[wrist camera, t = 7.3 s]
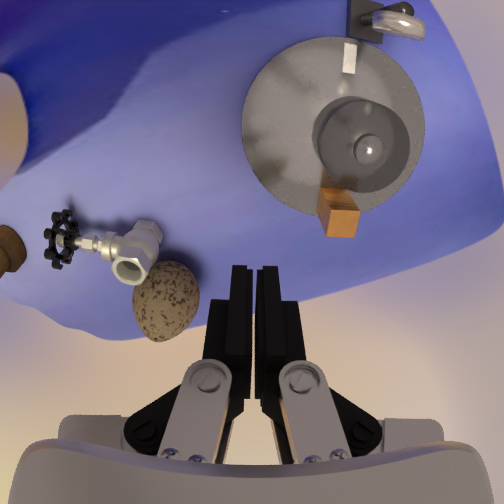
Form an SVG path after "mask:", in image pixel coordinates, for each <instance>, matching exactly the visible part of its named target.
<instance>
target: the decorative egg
mask: <svg viewBox="0 0 504 504" xmlns="http://www.w3.org/2000/svg"><path fill="white" fill-rule="evenodd" d="M199 299H200V293H199V287H198V283H197V280H196V278H195V276H194V275H193V273H192V272H191V271H190V270H189V269H188V268H187V267H186V266H184V265H183V264H181V263H178V262H175V261H160V262H157V263H155V264H154V265H153V266H152V267H151V268H150V271H149V273H148V275H147V276H146V278H145V279H144V281H143V282H142V283H141V285H135V287H134V291H133V298H132V304H133V311H134V315H135V318H136V321H137V323H138V325H139V327H140V329H141V330H142V332H143V333H144V334H145V335H146V336H147V337H148V338H149V339H150V340H152V341H154V342H163V341H166V340H169V339H171V338H173V337H175V336H177V335H178V334H180V333H181V332H182V331H184V330H185V329H186V328H187V326H188V325H189V324H190V323H191V321H192V320H193V318H194V316H195V314H196V312H197V309H198V306H199Z"/></svg>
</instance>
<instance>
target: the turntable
mask: <svg viewBox="0 0 504 504" xmlns="http://www.w3.org/2000/svg"><path fill="white" fill-rule="evenodd" d="M345 96H359V97H363V98H366V99H369V100H371V101H374V102H376V103H379V104H382V105H384V106H386V107H388V108H390V109H391V110H393V111H394V112H395V113H396V114H397V115H398V116H399V117H400V118H401V119H402V121H403V122H404V124H405V126H406V128H407V131H408V134H409V139H410V153H409V158H408V161H407V164H406V166H405V168H404V170H403V171H402V173H401V174H400V176H399V177H398V178H397V179H396V180H395V181H394V182H393V183H391V184H390V185H389V186H387V187H385V188H384V189H381V190H379V191H375V192H371V193H357V192H353V191H350V190H347V189H345V188H343V187H341V186H340V185H339V184H337V183H336V182H335V181H334V180H333V179H332V178H331V176H330V175H329V174H328V172H327V171H326V169H325V167H324V166H323V164H322V163H321V161H320V160H319V158H318V157H317V155H316V153H315V151H314V147H313V143H312V130H313V125H314V122H315V120H316V118H317V116H318V114H319V113H320V112H321V110H322V109H323V108H324V107H325V106H326V105H327V104H329V103H330V102H332V101H334V100H335V99H338V98H341V97H345ZM241 128H242V141H243V146H244V151H245V153H246V156H247V159H248V162H249V164H250V166H251V168H252V170H253V172H254V174H255V175H256V177H257V178H258V180H259V181H260V182H261V184H262V185H263V186H264V187H265V188H266V189H267V190H268V191H269V192H270V193H271V194H272V195H273V196H274V197H276V198H277V199H278V200H280V201H281V202H283V203H284V204H286V205H287V206H289V207H291V208H293V209H295V210H298V211H301V212H303V213H306V214H310V215H315V216H318V217H319V219H320V222H321V224H322V227H323V229H324V232H325V235H326V237H353V238H354V237H355V233H356V229H357V225H358V221H359V217H360V213H363V212H365V211H368V210H371V209H373V208H374V207H376V206H378V205H380V204H382V203H383V202H385V201H386V200H388V199H389V198H390V197H392V196H393V195H394V194H395V193H396V192H397V191H398V190H399V189H400V188H401V187H402V186H403V185H404V184H405V182H406V181H407V180H408V178H409V177H410V176H411V174H412V172H413V170H414V169H415V167H416V165H417V162H418V160H419V157H420V155H421V151H422V147H423V142H424V135H425V121H424V112H423V108H422V104H421V100H420V98H419V95H418V92H417V90H416V88H415V86H414V84H413V82H412V81H411V79H410V78H409V76H408V75H407V74H406V72H405V71H404V70H403V69H402V67H401V66H400V65H399V64H398V63H397V62H396V61H395V60H393V59H392V58H391V57H390V56H388V55H387V54H386V53H384V52H383V51H381V50H379V49H378V48H376V47H374V46H372V45H370V44H367V43H365V42H362V41H359V40H355V39H351V38H344V37H320V38H314V39H310V40H306V41H303V42H300V43H297V44H295V45H293V46H291V47H289V48H287V49H285V50H283V51H282V52H280V53H279V54H277V55H276V56H274V57H273V58H272V59H271V60H270V61H269V62H268V63H267V64H266V65H265V66H264V67H263V68H262V69H261V71H260V72H259V73H258V74H257V76H256V77H255V79H254V81H253V82H252V84H251V86H250V88H249V91H248V93H247V96H246V99H245V103H244V107H243V112H242V123H241Z"/></svg>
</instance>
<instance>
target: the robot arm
mask: <svg viewBox="0 0 504 504" xmlns="http://www.w3.org/2000/svg"><path fill="white" fill-rule="evenodd" d="M252 309H253V269H247V265H233V266H232V276H231V287H230V298H229V300H220V299H211V302H210V309H209V315H208V322H207V329H206V336H205V343H204V350H203V357H202V360H199V361H197V362H195V363H193V364H192V365H191V366H190V367H188V369H187V371H186V373H185V375H184V378H183V381H182V383H181V384H180V385H178V386H177V387H175V388H174V389H172V390H171V391H169V392H168V393H166V394H165V395H163V396H161V397H160V398H158V399H157V400H155V401H154V402H152V403H150V404H149V405H147V406H146V407H144V408H143V409H141V410H139V411H138V412H136V413H134V414H133V415H132V416H130V417H121V415H70V416H67V417H65V418H64V419H63V420H62V422H61V423H60V426H59V432H58V439H46V440H41V441H37V442H35V443H32V444H31V445H29V446H28V447H27V448H26V450H25V451H24V453H23V454H22V456H21V458H20V461H19V463H18V465H17V468H16V471H15V475H14V478H13V481H12V486H11V490H10V495H9V501H8V504H494V499H493V494H492V490H491V485H490V480H489V477H488V473H487V470H486V467H485V465H484V462H483V460H482V458H481V456H480V454H479V453H478V452H477V450H476V449H475V448H473V447H472V446H470V445H468V444H464V443H461V442H454V441H444V433H443V429H442V427H441V425H440V424H439V423H438V422H437V421H435V420H432V419H394V418H385V419H384V420H376V419H375V418H374V417H373V416H371V415H370V414H368V413H367V412H365V411H364V410H362V409H361V408H359V407H358V406H356V405H355V404H353V403H351V402H350V401H349V400H347V399H346V398H344V397H343V396H341V395H340V394H338V393H337V392H335V391H334V390H332V389H331V388H330V387H329V386H328V383H327V381H326V378H325V375H324V373H323V371H322V370H321V369H320V368H319V367H318V366H317V365H316V364H313V363H312V362H309V361H306V354H305V347H304V340H303V334H302V326H301V320H300V313H299V306H298V302H297V301H281V293H280V283H279V274H278V266H263V270H257V284H256V304H255V399H260V403H261V407H262V412H263V413H265V414H266V415H267V416H268V417H269V418H271V425H272V430H273V435H274V440H275V444H276V449H277V454H278V459H279V463H280V465H229V464H228V465H227V464H224V463H225V459H226V454H227V450H228V446H229V441H230V437H231V432H232V427H233V423H234V418H235V417H237V416H238V415H239V414H241V413H242V412H243V411H244V399H250V389H251V369H252Z"/></svg>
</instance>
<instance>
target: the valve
mask: <svg viewBox="0 0 504 504" xmlns="http://www.w3.org/2000/svg"><path fill="white" fill-rule="evenodd" d="M72 215H73V213H72V210H68V209H64V210H63V211H62V212H53V213H52V217H51V219H52V222H53V226H52V229H51V228H46V229H45V231H44V238H45V239H49V247H48V248H47V249H45V252H44V257H45V259H49V260H52V267H53V268H54V269H59V270H61V269H62V267H63V265H62V264H60V260H61V262H62V263H65V264H70V263H71V261H72V256H73V254H74V250H77V249H78V248H79V246H80V247H82V249H83V251H85V252H90V253H95V252H96V250H98V252H99V253H100V254H101V256H102V258H103V260H106V261H114V262H113V264H112V266H111V270H112V271H113V273H114V275H115V276H116V277H117V278H118V280H120V281H121V282H122V283H125V284H128V285H141V283H142V282H143V281H144V279H145V278H146V276H147V275H148V273H149V271H150V268H151V267H152V266H153V265H154V264H155V262H156V260H157V258H158V255H159V245H160V243H161V241H162V238H163V236H164V235H163V233H162V231H161V230H160V228H159V226H158V225H157V223H156V222H155V221H151V220H143V219H138V220H137V222H136V224H135V225H134V227H133V229H132V230H131V231H129V232H128V233H126V234H125V235H124V236H123V237H122V236H119V235H118V233H116V232H109V231H108V232H106V233H105V235H104V236H101V237H100V239H98V237H97V236H96V235H93V234H85V235H84V236H83V237H80V233H79V229H78V223H77V221H71V220H70V221H69V220H68V218H69V216H71V217H72ZM62 224H64V226H65V228H66V230H64V229H60V226H61V225H62ZM57 234H58V235H57ZM56 235H57V238H56ZM56 242H57V245H58V246H59V247H63V248H64V249H63V250H62V252H61V253H58V252H57V249H56Z"/></svg>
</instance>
